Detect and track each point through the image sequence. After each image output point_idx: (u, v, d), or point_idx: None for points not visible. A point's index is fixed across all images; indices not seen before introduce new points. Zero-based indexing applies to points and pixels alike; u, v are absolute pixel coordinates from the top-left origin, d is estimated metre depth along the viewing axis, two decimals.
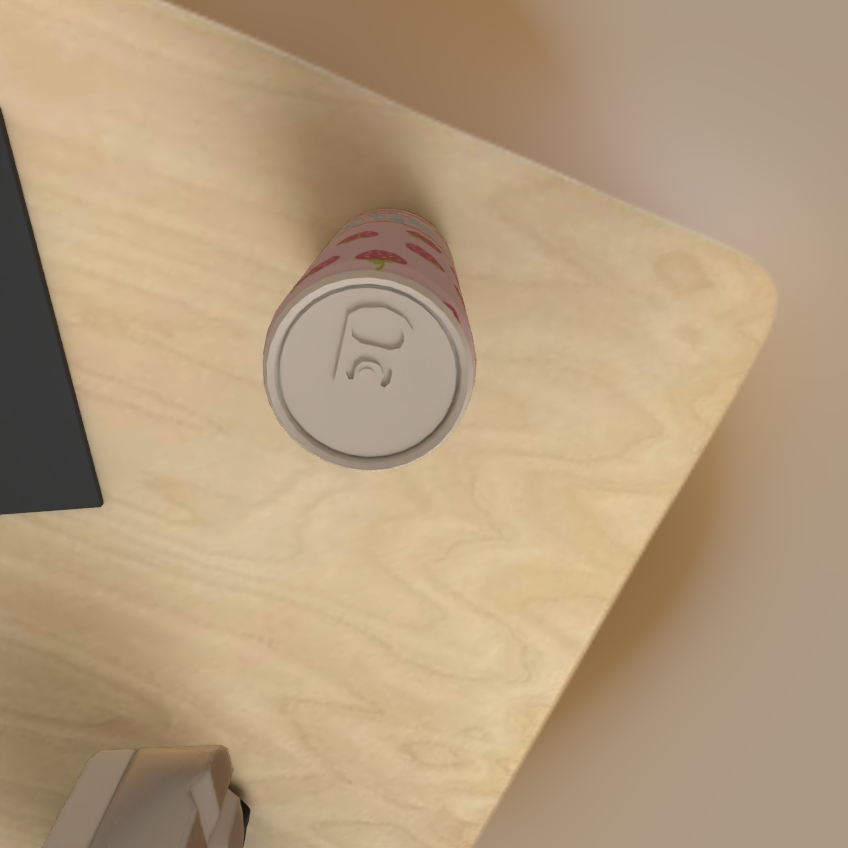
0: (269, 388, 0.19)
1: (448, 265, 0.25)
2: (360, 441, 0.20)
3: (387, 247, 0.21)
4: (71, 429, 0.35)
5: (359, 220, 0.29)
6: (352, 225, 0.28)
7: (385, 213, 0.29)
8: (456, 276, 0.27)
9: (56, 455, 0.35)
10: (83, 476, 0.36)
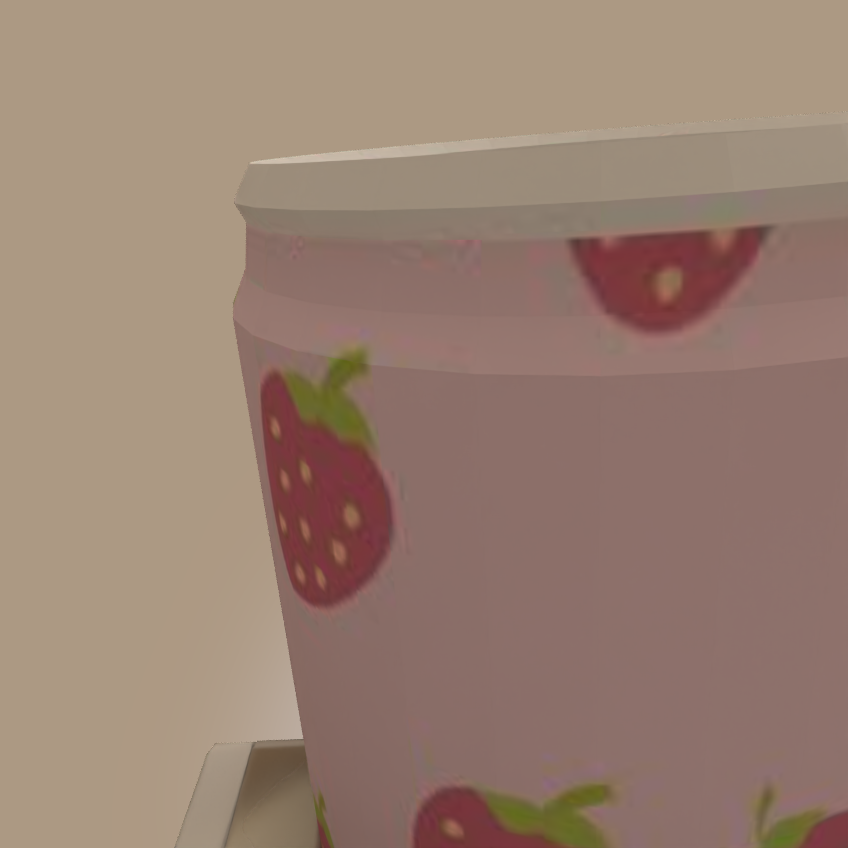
0: None
1: None
2: None
3: None
4: None
5: None
6: None
7: None
8: None
9: None
10: None
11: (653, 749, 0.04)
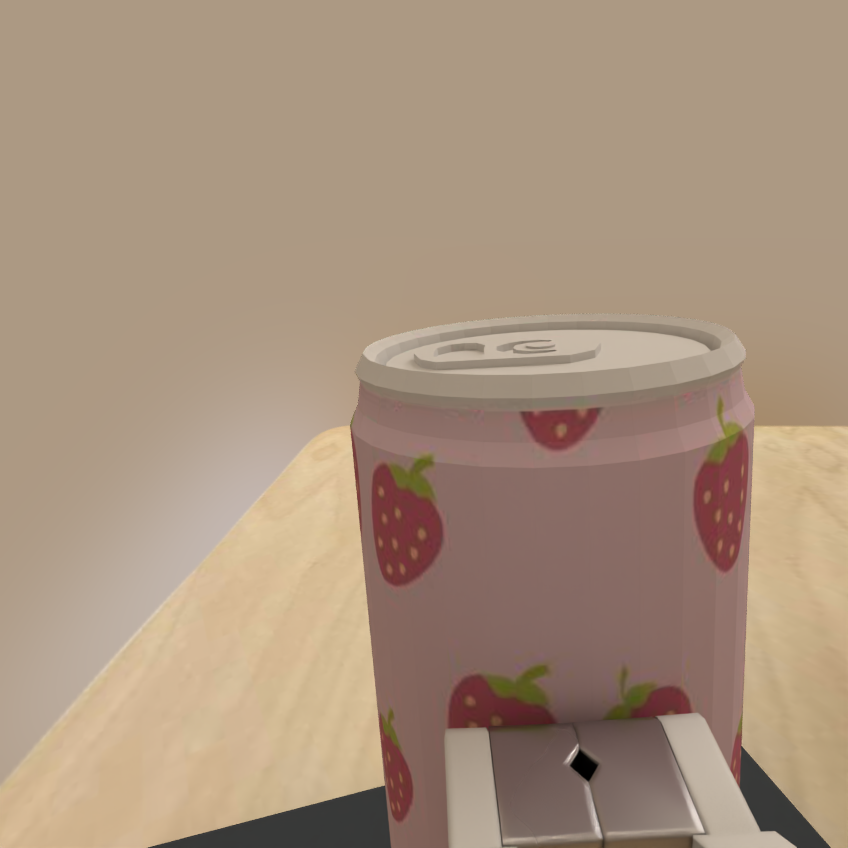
0: (634, 367, 0.08)
1: None
2: (669, 343, 0.11)
3: None
4: None
5: None
6: None
7: None
8: None
9: None
10: None
11: (567, 644, 0.09)
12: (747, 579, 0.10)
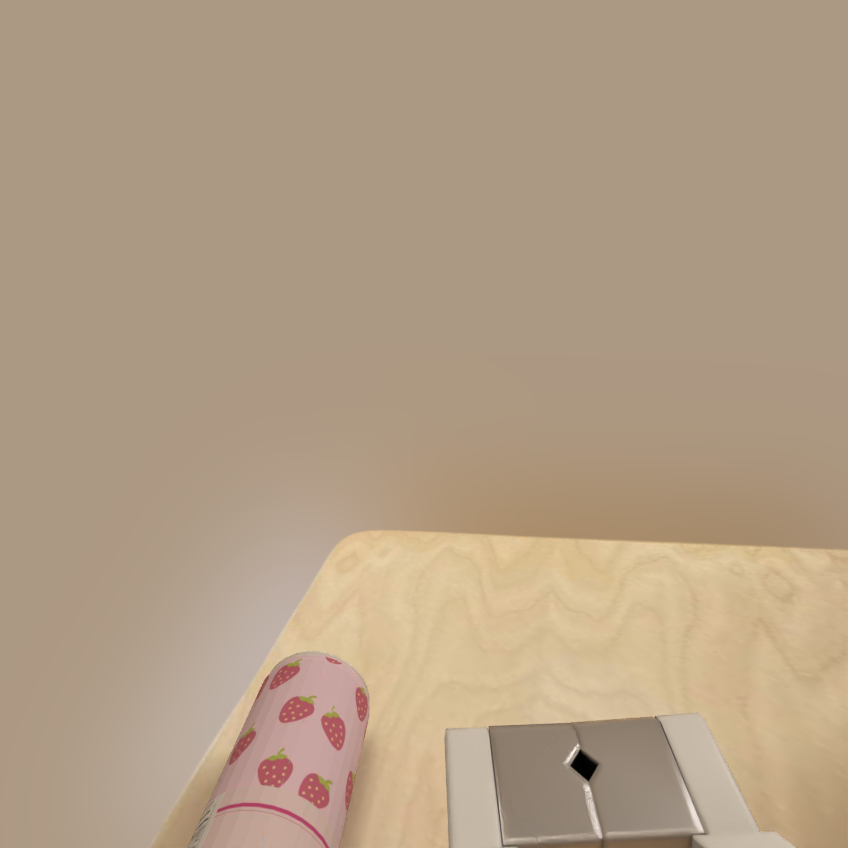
0: None
1: (299, 762, 0.31)
2: None
3: (355, 726, 0.35)
4: None
5: None
6: None
7: None
8: (265, 796, 0.29)
9: None
10: None
11: None
12: None
